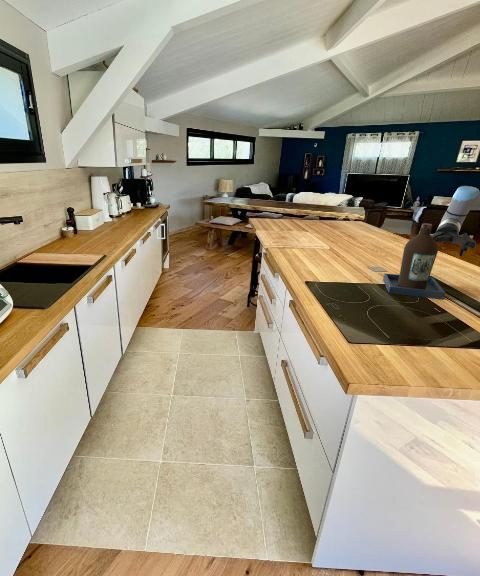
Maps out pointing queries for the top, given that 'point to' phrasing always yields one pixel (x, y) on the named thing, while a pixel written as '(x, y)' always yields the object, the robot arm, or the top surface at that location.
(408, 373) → the top surface
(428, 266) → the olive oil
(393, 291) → the tray
